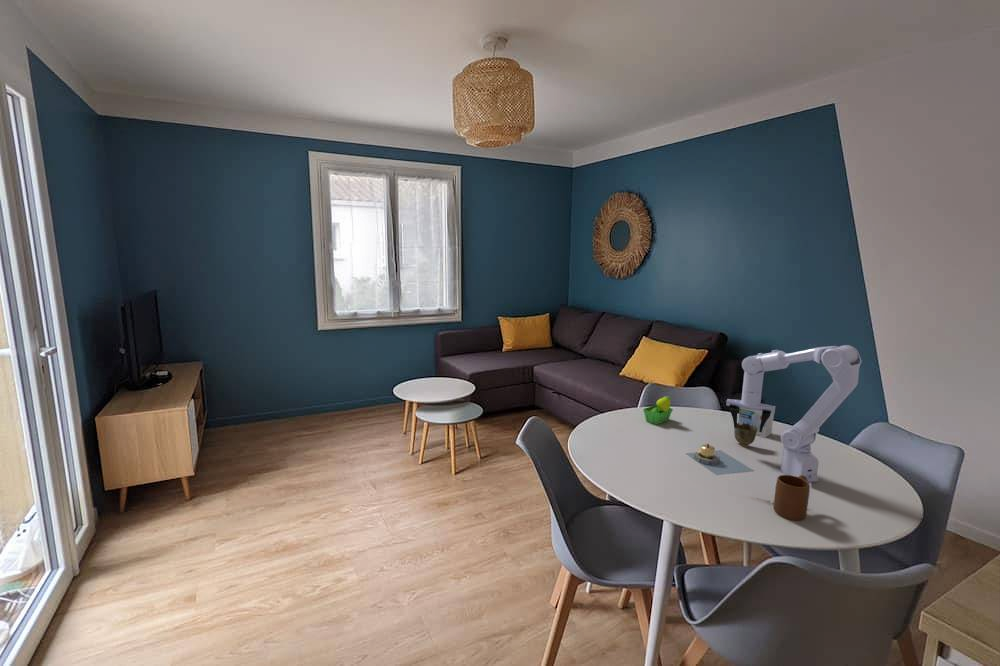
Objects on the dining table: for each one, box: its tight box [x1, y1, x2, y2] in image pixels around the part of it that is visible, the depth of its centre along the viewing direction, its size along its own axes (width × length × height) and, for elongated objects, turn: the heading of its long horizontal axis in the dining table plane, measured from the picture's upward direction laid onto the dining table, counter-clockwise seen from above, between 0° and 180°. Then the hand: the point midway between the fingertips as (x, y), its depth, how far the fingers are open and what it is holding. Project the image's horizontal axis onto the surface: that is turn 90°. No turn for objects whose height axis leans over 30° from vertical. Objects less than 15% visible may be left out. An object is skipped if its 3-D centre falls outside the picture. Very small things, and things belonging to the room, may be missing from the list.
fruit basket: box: [642, 396, 674, 425], centre depth 195 cm, size 11×9×11 cm
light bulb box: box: [737, 407, 775, 438], centre depth 185 cm, size 11×7×11 cm, turn 42°
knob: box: [700, 443, 716, 460], centre depth 157 cm, size 4×4×5 cm
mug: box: [773, 474, 811, 521], centre depth 128 cm, size 12×8×9 cm, turn 128°
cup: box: [733, 422, 758, 447], centre depth 171 cm, size 8×7×8 cm
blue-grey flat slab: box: [685, 450, 755, 476], centre depth 156 cm, size 16×14×2 cm
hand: (747, 429), depth 161 cm, fingers open, 7 cm apart
